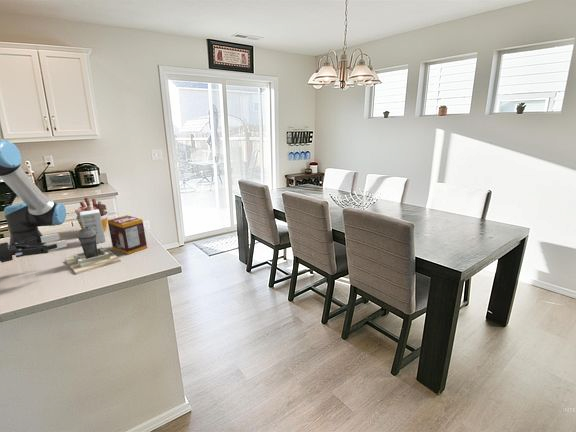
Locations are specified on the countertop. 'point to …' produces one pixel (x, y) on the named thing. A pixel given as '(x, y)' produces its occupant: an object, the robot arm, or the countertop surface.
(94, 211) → the supplement box
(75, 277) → the countertop surface
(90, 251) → the beverage cup
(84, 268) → the cup holder
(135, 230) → the supplement box
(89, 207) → the bucket of meat
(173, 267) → the countertop surface
